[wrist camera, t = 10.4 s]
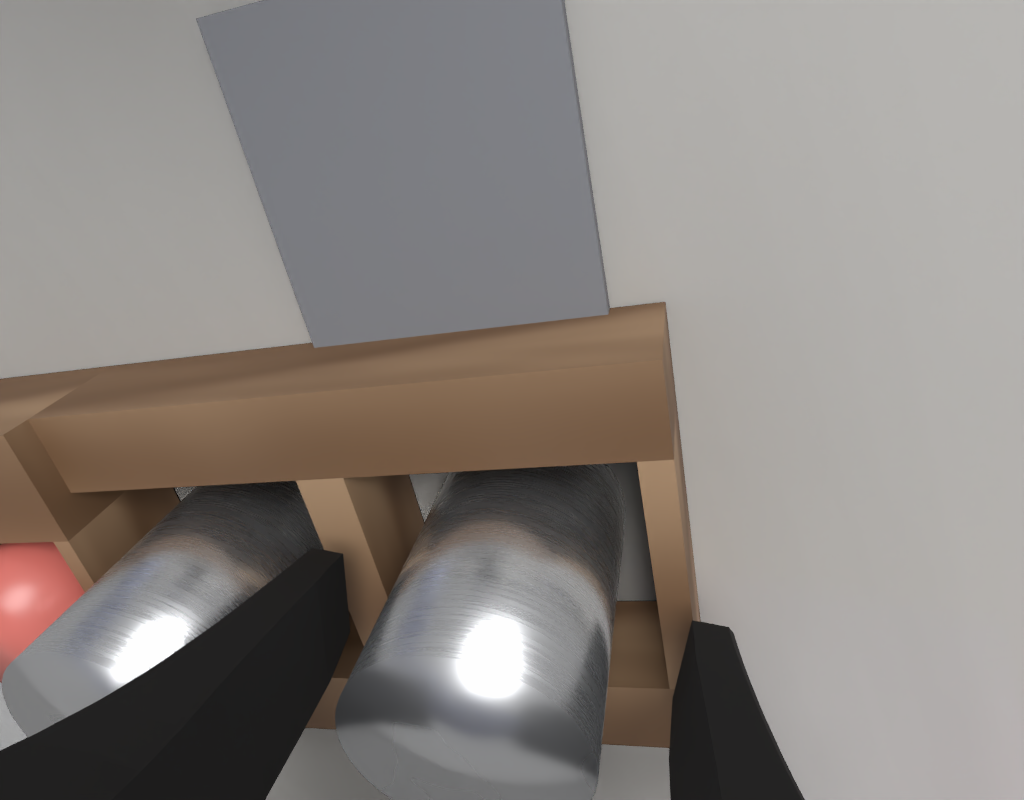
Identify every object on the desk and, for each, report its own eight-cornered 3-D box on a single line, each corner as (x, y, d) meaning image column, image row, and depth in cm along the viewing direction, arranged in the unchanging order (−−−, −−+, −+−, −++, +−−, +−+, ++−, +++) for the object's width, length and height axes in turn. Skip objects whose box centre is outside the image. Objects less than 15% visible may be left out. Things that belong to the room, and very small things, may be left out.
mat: (206, 18, 12) (195, 18, 12) (553, -77, 10) (549, -78, 10) (321, 341, 15) (314, 347, 14) (609, 307, 13) (608, 314, 13)
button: (17, 504, 18) (-96, 589, 15) (113, 499, 17) (11, 589, 14) (74, 594, 19) (-21, 686, 16) (166, 593, 18) (81, 691, 16)
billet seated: (183, 454, 17) (-40, 647, 12) (328, 448, 16) (148, 659, 11) (243, 580, 19) (71, 795, 14) (377, 583, 18) (243, 819, 12)
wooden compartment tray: (-39, 383, 17) (-164, 449, 15) (665, 301, 13) (661, 378, 10) (124, 645, 21) (48, 733, 19) (704, 658, 17) (709, 777, 14)
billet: (442, 417, 15) (319, 636, 10) (633, 439, 14) (608, 687, 9) (449, 561, 17) (350, 804, 12) (617, 586, 16) (589, 857, 11)
